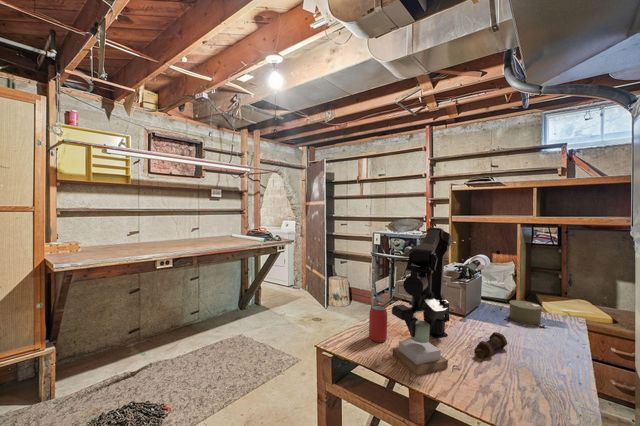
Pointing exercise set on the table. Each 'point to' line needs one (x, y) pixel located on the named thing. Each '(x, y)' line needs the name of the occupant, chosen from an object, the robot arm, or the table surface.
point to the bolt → (490, 345)
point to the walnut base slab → (422, 367)
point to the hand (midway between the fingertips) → (420, 335)
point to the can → (525, 312)
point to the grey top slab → (419, 351)
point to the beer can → (378, 323)
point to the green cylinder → (421, 332)
